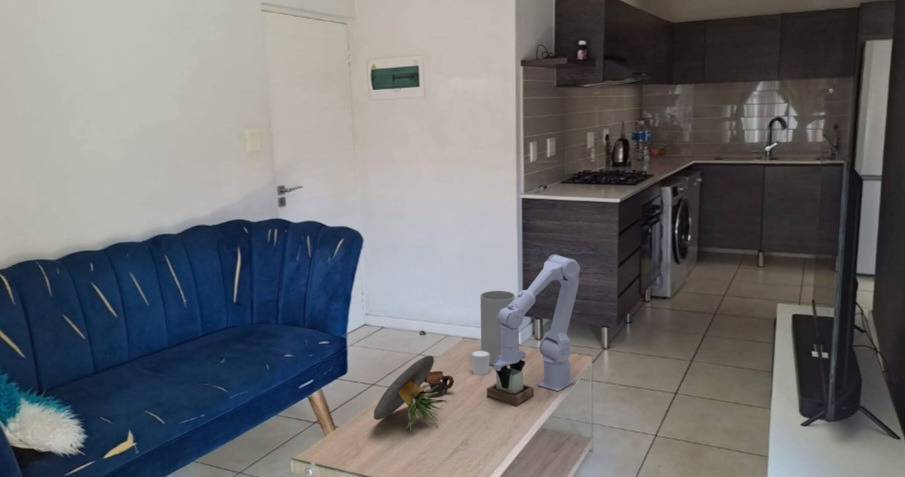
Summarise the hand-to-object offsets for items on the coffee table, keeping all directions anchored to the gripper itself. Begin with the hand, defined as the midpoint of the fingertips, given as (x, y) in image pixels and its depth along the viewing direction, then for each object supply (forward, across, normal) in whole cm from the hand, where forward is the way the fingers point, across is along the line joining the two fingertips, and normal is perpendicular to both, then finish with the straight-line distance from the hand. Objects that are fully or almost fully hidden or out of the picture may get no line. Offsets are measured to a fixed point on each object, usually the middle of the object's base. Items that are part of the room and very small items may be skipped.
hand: (510, 384), depth 228 cm
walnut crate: (+4, 0, 0) cm, 4 cm away
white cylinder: (+4, -11, -21) cm, 24 cm away
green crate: (+2, 0, 0) cm, 2 cm away
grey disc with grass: (+4, +33, -12) cm, 36 cm away
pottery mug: (+5, +11, -22) cm, 25 cm away
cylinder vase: (+4, -24, -23) cm, 34 cm away
